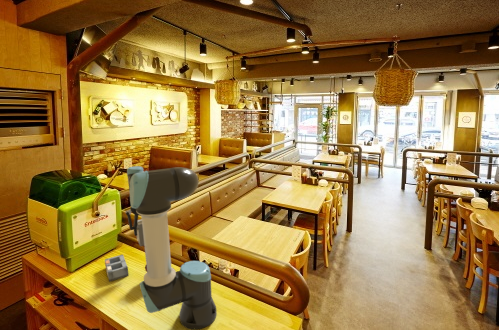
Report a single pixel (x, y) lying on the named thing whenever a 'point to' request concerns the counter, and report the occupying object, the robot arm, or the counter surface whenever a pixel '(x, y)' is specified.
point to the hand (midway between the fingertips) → (142, 239)
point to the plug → (140, 232)
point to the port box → (116, 267)
